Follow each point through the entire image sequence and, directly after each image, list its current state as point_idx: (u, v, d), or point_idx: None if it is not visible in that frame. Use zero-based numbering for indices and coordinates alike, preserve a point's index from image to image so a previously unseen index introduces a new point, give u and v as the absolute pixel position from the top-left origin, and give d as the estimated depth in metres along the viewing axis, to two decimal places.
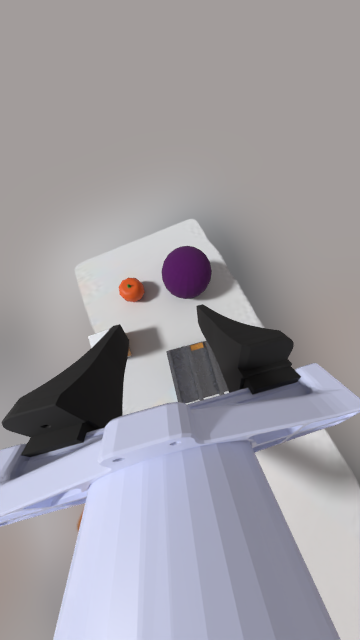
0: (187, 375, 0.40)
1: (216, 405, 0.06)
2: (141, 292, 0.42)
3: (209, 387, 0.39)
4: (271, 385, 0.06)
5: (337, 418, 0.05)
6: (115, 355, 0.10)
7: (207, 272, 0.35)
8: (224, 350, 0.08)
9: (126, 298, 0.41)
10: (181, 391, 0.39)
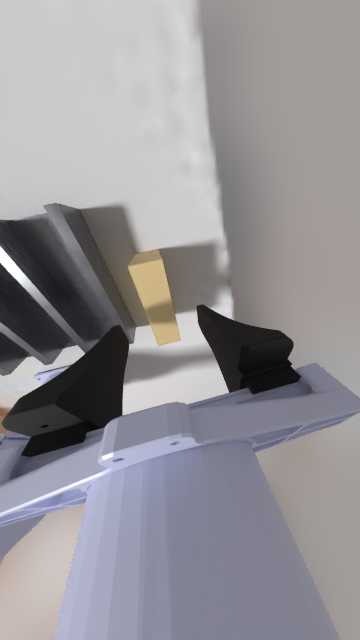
0: None
1: (216, 405, 0.06)
2: None
3: None
4: (271, 385, 0.06)
5: (337, 418, 0.05)
6: (115, 355, 0.10)
7: None
8: (224, 350, 0.08)
9: None
10: (9, 342, 0.19)
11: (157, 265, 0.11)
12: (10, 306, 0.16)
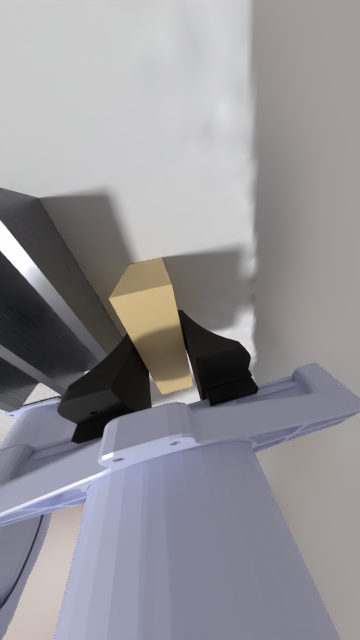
0: None
1: (216, 405, 0.06)
2: None
3: None
4: (228, 397, 0.06)
5: (337, 418, 0.05)
6: None
7: None
8: (191, 359, 0.08)
9: None
10: None
11: (162, 294, 0.06)
12: None
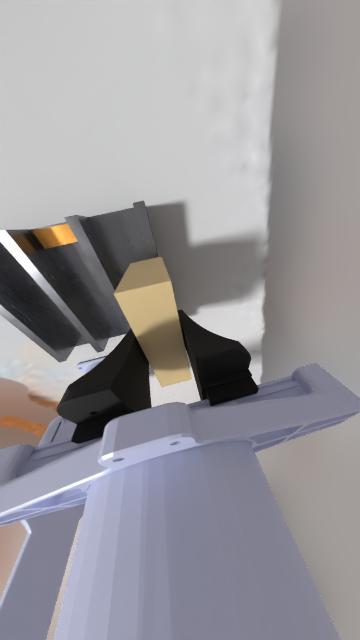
0: None
1: (216, 405, 0.06)
2: None
3: (119, 324, 0.22)
4: (228, 397, 0.06)
5: (337, 418, 0.05)
6: (141, 348, 0.10)
7: None
8: (191, 359, 0.08)
9: None
10: (63, 331, 0.21)
11: (162, 290, 0.07)
12: (74, 296, 0.17)
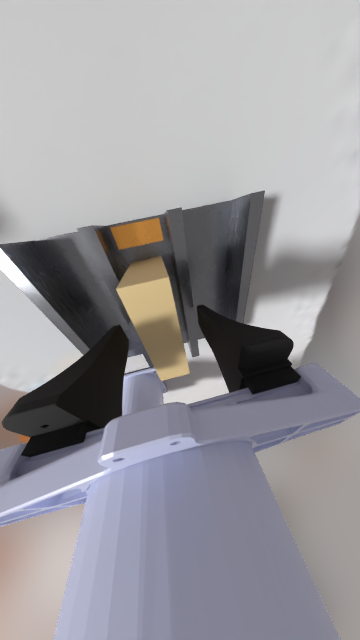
0: (119, 316, 0.16)
1: (216, 405, 0.06)
2: None
3: None
4: (271, 385, 0.06)
5: (337, 418, 0.05)
6: (115, 355, 0.10)
7: None
8: (224, 350, 0.08)
9: None
10: None
11: (161, 286, 0.08)
12: None
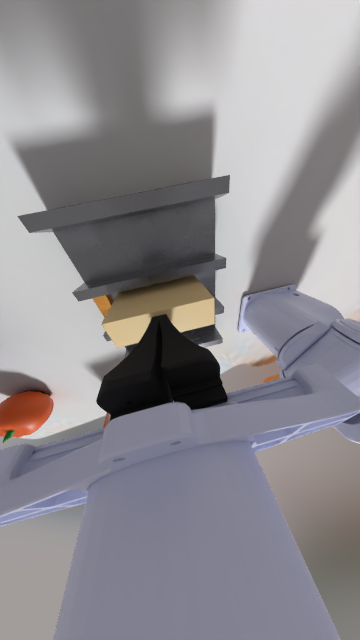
0: None
1: (216, 405, 0.06)
2: (15, 410, 0.22)
3: None
4: (197, 406, 0.06)
5: (337, 418, 0.05)
6: (161, 343, 0.10)
7: None
8: None
9: (43, 421, 0.24)
10: (196, 329, 0.23)
11: (109, 328, 0.11)
12: None
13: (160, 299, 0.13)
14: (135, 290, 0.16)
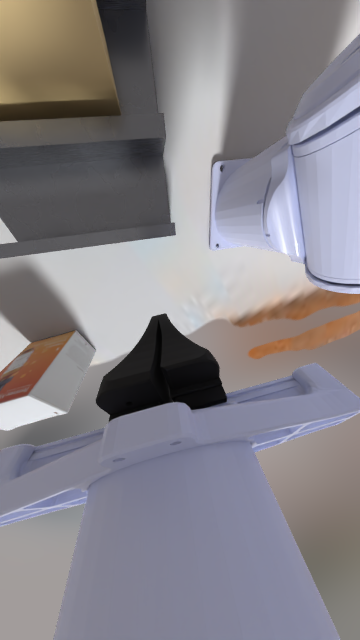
0: (88, 188, 0.12)
1: (216, 405, 0.06)
2: None
3: (121, 72, 0.09)
4: (196, 406, 0.06)
5: (337, 418, 0.05)
6: (161, 343, 0.10)
7: None
8: None
9: None
10: (139, 222, 0.14)
11: None
12: None
13: None
14: None
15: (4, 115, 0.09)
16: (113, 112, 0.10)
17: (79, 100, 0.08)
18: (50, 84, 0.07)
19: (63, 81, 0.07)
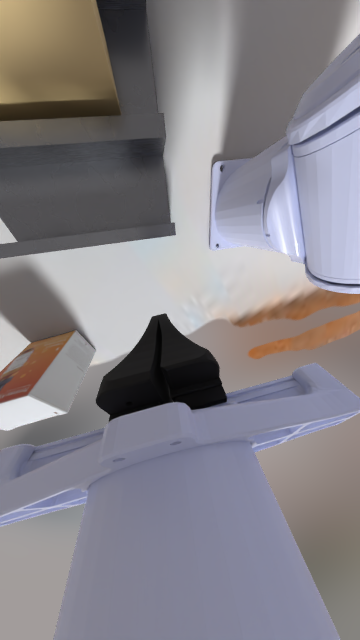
0: (88, 188, 0.12)
1: (216, 405, 0.06)
2: None
3: (121, 72, 0.09)
4: (196, 406, 0.06)
5: (337, 418, 0.05)
6: (161, 343, 0.10)
7: None
8: None
9: None
10: (139, 222, 0.14)
11: None
12: None
13: None
14: None
15: (4, 115, 0.09)
16: (113, 112, 0.10)
17: (79, 99, 0.08)
18: (50, 84, 0.07)
19: (63, 81, 0.07)
